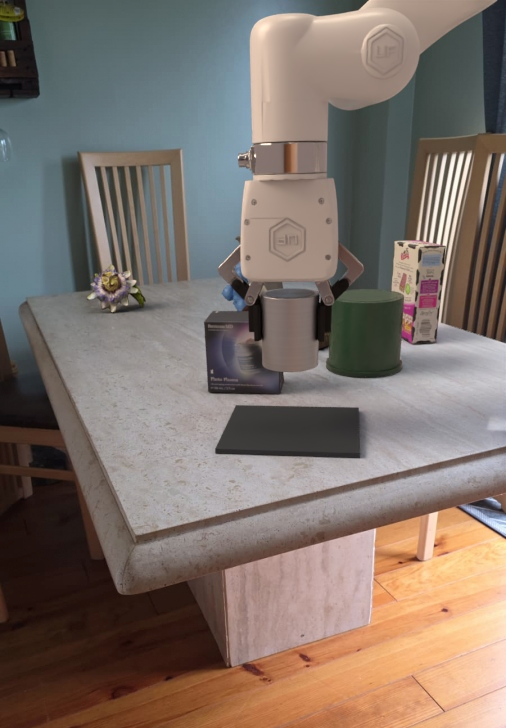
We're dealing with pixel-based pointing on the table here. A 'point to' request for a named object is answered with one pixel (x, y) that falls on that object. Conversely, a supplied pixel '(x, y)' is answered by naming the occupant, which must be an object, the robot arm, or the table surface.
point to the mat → (292, 431)
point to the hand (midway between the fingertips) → (290, 337)
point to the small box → (236, 356)
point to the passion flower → (114, 289)
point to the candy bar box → (419, 287)
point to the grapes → (231, 294)
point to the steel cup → (290, 329)
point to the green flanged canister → (366, 333)
